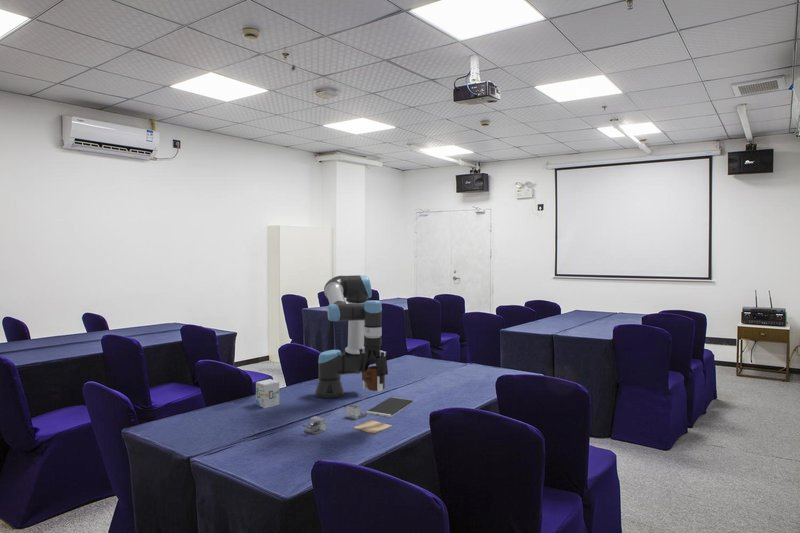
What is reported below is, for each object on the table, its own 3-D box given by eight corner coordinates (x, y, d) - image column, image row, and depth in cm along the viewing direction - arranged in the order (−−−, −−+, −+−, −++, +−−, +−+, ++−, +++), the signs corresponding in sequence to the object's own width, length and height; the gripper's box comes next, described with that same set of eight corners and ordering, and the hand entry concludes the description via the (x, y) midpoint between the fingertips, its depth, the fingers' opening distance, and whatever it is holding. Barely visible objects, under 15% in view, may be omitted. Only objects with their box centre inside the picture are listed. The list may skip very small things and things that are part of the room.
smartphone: (365, 415, 236) (365, 411, 236) (390, 400, 261) (390, 396, 261) (390, 418, 231) (390, 415, 231) (413, 403, 255) (413, 399, 255)
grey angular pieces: (300, 432, 211) (300, 420, 210) (354, 413, 237) (354, 402, 237) (312, 436, 206) (312, 423, 206) (366, 416, 232) (366, 405, 232)
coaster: (353, 428, 216) (353, 427, 216) (371, 421, 226) (371, 420, 226) (374, 434, 209) (374, 433, 209) (392, 426, 218) (392, 425, 218)
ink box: (255, 404, 250) (255, 381, 250) (270, 401, 256) (270, 378, 256) (264, 408, 244) (264, 384, 244) (279, 404, 250) (279, 381, 250)
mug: (368, 394, 210) (368, 372, 210) (356, 391, 215) (356, 369, 215) (388, 388, 219) (388, 367, 219) (375, 385, 224) (376, 364, 224)
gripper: (349, 335, 220) (349, 387, 220) (385, 340, 207) (385, 395, 208) (361, 333, 226) (361, 384, 226) (396, 337, 213) (396, 391, 214)
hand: (372, 389), depth 217 cm, fingers closed on mug, 7 cm apart
